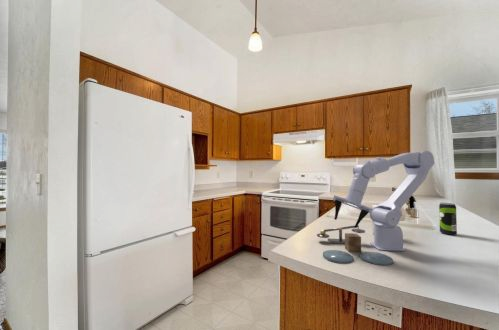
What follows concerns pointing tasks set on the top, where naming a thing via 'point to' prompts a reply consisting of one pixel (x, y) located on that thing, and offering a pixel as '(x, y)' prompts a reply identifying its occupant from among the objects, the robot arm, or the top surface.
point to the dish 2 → (376, 258)
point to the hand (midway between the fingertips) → (345, 223)
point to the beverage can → (448, 218)
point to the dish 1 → (337, 256)
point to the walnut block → (352, 242)
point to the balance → (340, 240)
